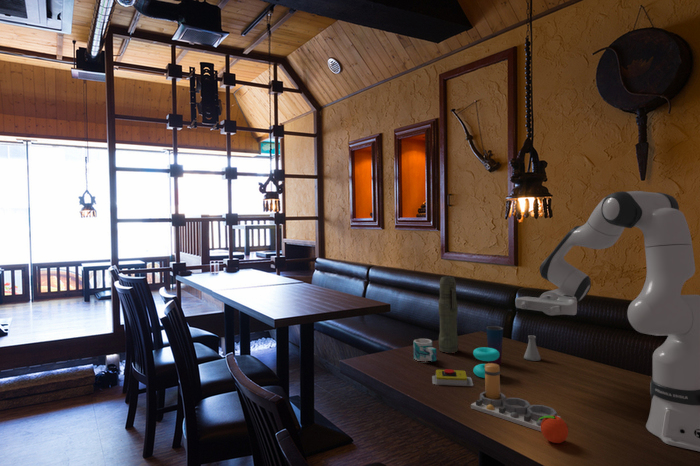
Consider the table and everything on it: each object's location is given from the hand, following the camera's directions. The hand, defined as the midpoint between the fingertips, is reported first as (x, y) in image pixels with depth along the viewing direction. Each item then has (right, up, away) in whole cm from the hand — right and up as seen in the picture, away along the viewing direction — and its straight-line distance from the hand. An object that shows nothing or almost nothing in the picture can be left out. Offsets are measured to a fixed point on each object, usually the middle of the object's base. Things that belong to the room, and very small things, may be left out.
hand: (535, 308), depth 152 cm
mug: (-32, -30, +39) cm, 58 cm away
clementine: (-9, -31, -32) cm, 46 cm away
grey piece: (-13, -31, -15) cm, 37 cm away
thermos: (-19, -29, +53) cm, 63 cm away
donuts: (-11, -30, +20) cm, 38 cm away
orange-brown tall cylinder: (-18, -29, -8) cm, 35 cm away
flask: (+15, -29, +39) cm, 51 cm away
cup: (-3, -29, +35) cm, 46 cm away
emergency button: (-26, -31, +14) cm, 43 cm away
